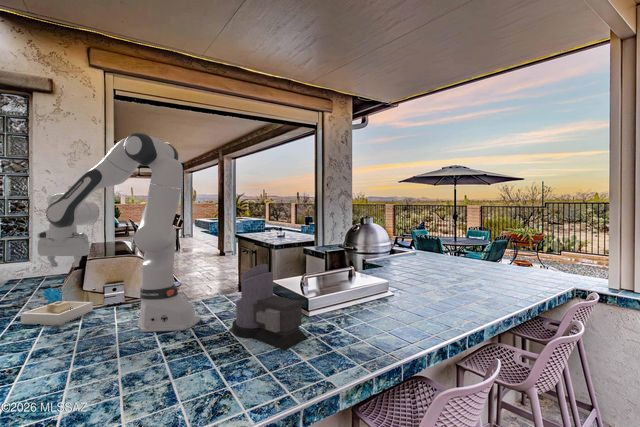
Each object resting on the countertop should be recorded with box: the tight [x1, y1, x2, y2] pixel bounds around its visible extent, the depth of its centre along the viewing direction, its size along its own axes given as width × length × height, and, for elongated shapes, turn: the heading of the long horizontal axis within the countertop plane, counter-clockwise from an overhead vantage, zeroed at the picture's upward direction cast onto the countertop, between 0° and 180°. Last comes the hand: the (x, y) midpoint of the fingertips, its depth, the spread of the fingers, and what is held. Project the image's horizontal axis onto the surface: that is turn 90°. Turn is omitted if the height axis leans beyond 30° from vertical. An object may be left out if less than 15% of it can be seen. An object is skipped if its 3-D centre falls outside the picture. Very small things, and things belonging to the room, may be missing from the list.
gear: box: [42, 287, 62, 305], centre depth 148 cm, size 11×6×10 cm
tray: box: [20, 301, 94, 326], centre depth 131 cm, size 16×16×4 cm
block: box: [46, 300, 70, 314], centre depth 131 cm, size 5×5×5 cm
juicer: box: [228, 263, 309, 351], centre depth 114 cm, size 30×16×24 cm, turn 52°
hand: (65, 266), depth 132 cm, fingers open, 8 cm apart
